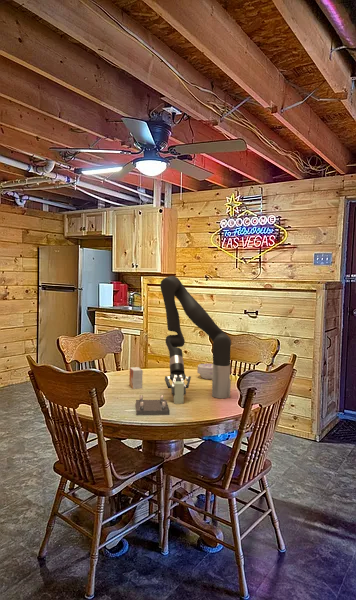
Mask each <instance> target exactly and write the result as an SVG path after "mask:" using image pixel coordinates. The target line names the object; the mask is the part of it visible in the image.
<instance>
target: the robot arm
mask: <svg viewBox="0 0 356 600" xmlns="http://www.w3.org/2000/svg"><path fill="white" fill-rule="evenodd" d="M159 285H160V286H159V287H160V292H161V295H162V298H163V299H162V300H163V302H164V308H165V314H166V324H167V325H166V327H167V330H168V331H169V332H172V333H173V332H174V333H176V334H170V335H167V336H166V337H165V345H166V347H167V349H168V352H169V376H167V375H165V376H164V381H165V385H166V387H167V389H171V395H172V396H173V397H174V395H175V390H174V382H175V381H182V382H183V383H184V396H186V394H187V390H186V389H189V387H190V383H191V379H192V376H190V375H189V376H187V375H186V374H185V364H184V358H183V357H184V355H183V350H182V348H181V347H183V346H184V345H185V343H186V340H185V338H184V335H183V332H182V329H181V320H180V314H179V310H178V308H177V304H176V300H175V299H177V300H178V301H179V303H180V305H181V307H182V310H183V312H184V313H185V315H186V317H188V319H189V320H190V321H191V322H192V323H193V324H194V325H195V326H196V327H197V328H199V329H200V330H201V331H203V332H204V333H205V334H206V335H207V336H208V337H209V338H210V340H211V341H212V364H213V379H211V380H212V382H211V384H212V385H211V396H212V397H213V398H216V399H227V398H231V384H232V382H231V380H232V379H231V346H232V340H231V337H230V336H229V335H228V334H227V333H226V332H225V331H223V330H222V329H221V327H219V326H218V325H217V324H216V322H215V321H214V319H212V317H211V316H210V315H209V314H208V312H207V311H206V310H205V309H204V307H202V305H201V304H200V303H199V302H198V301H197V300H196V299H195V297H194V296H193V295H191V293H190V292H189V291H188V290H187V288H186V287H185V286H184V284H183V283H182V282H181V281H180V279H179V277H177V276H175V275H169V276H166V277H165V278H163V279H162V280H161V281H160V284H159ZM170 380H171V381H170ZM185 381H186V382H187V383H185ZM171 382H172V383H171Z"/></svg>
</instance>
